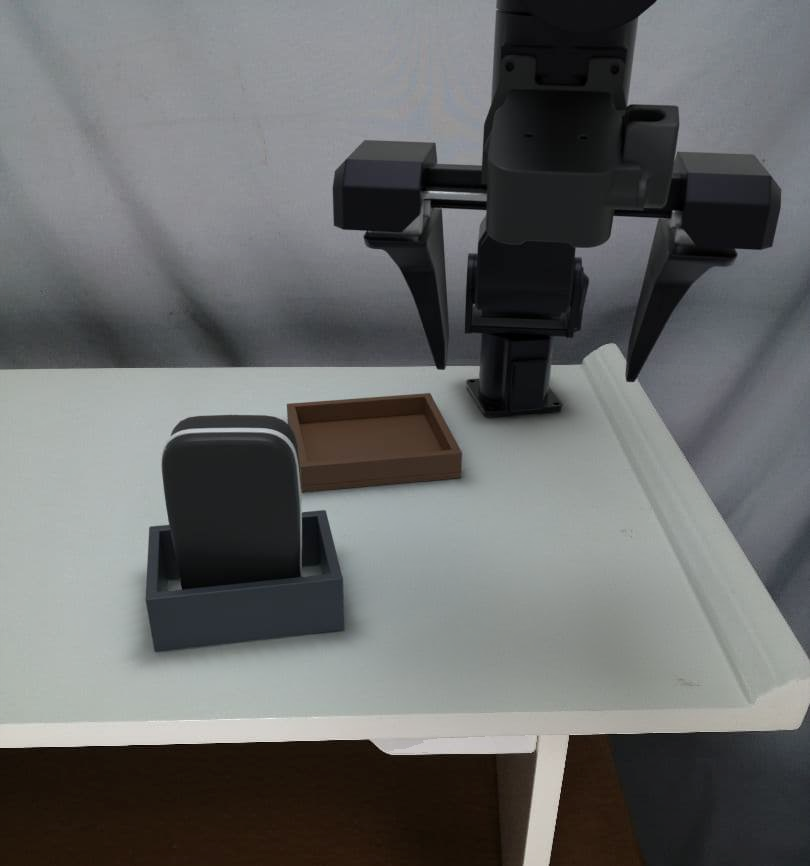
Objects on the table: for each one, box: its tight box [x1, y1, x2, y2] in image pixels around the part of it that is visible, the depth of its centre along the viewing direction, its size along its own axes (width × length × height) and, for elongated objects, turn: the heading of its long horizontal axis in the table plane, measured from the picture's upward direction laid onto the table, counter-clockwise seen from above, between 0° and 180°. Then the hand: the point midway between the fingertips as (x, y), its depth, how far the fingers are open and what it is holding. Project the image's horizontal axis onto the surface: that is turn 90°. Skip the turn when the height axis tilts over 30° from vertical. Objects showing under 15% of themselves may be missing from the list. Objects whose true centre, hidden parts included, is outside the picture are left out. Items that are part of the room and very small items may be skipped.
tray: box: [286, 392, 463, 493], centre depth 69 cm, size 10×11×2 cm
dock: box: [145, 509, 345, 653], centre depth 53 cm, size 7×10×4 cm
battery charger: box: [160, 414, 304, 590], centre depth 51 cm, size 7×4×11 cm, turn 92°
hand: (534, 373), depth 47 cm, fingers open, 9 cm apart
